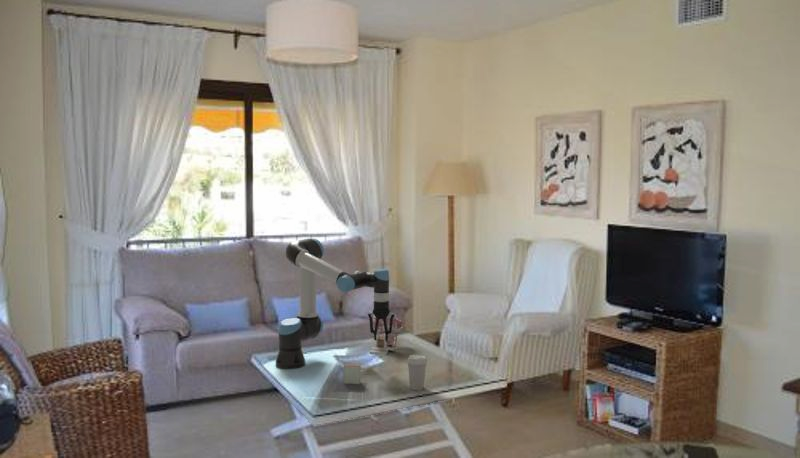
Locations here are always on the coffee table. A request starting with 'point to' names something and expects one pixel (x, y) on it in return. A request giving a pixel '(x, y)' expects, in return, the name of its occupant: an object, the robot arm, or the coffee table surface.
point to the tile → (352, 374)
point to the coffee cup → (417, 371)
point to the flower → (395, 328)
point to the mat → (350, 387)
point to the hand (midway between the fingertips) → (381, 346)
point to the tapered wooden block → (379, 346)
